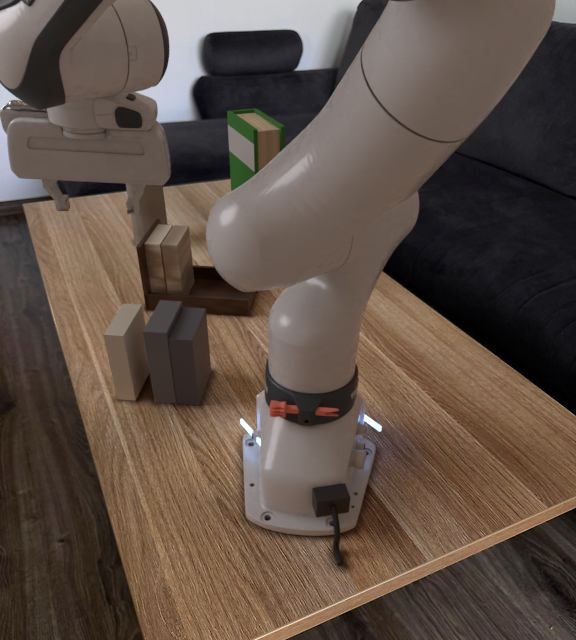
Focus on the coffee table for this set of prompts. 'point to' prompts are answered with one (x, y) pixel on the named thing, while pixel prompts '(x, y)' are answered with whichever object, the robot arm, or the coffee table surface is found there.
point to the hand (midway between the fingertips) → (98, 211)
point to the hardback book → (252, 143)
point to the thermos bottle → (147, 209)
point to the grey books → (178, 353)
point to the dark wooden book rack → (184, 275)
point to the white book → (127, 351)
